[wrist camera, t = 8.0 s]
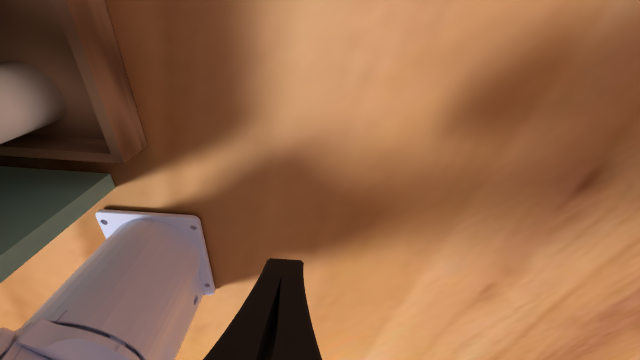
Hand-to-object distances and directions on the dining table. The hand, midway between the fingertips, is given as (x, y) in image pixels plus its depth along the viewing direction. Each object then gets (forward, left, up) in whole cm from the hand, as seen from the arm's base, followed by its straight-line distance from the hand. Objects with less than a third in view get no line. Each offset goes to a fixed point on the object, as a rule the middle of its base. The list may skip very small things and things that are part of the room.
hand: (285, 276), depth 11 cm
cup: (+4, +16, -9) cm, 19 cm away
